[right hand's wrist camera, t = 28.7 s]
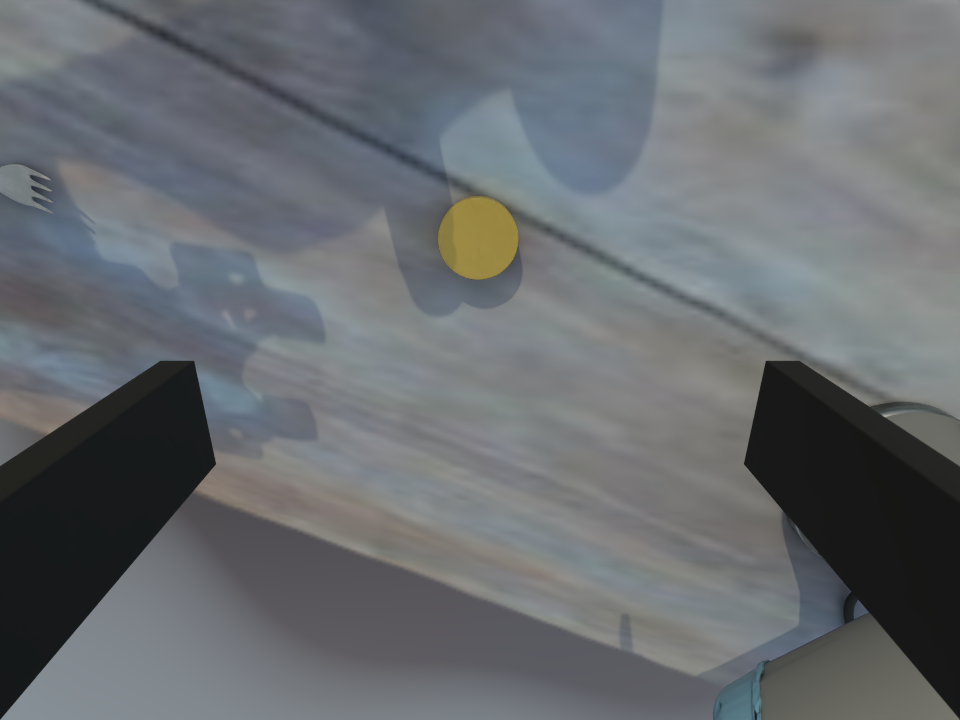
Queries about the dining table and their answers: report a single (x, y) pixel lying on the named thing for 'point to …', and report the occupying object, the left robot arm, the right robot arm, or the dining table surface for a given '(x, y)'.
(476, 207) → the lid
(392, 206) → the dining table surface
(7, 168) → the fork
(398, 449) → the dining table surface
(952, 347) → the dining table surface
